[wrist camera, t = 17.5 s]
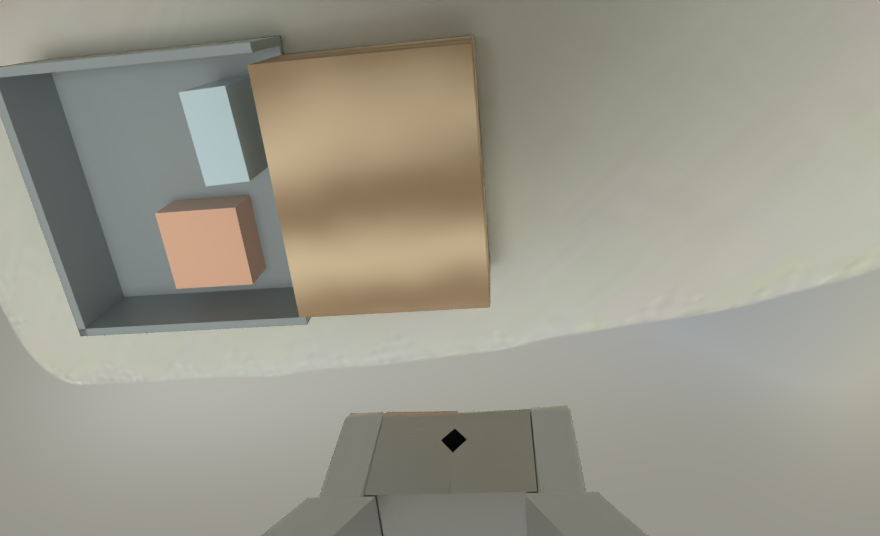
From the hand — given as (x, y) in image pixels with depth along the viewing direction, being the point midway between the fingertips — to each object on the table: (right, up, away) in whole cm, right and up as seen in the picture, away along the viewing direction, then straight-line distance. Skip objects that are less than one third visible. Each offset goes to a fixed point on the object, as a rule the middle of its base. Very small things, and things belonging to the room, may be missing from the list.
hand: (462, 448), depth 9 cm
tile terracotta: (-15, +4, +30) cm, 33 cm away
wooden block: (-3, +9, +30) cm, 31 cm away
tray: (-16, +8, +31) cm, 36 cm away
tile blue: (-11, +10, +26) cm, 30 cm away
